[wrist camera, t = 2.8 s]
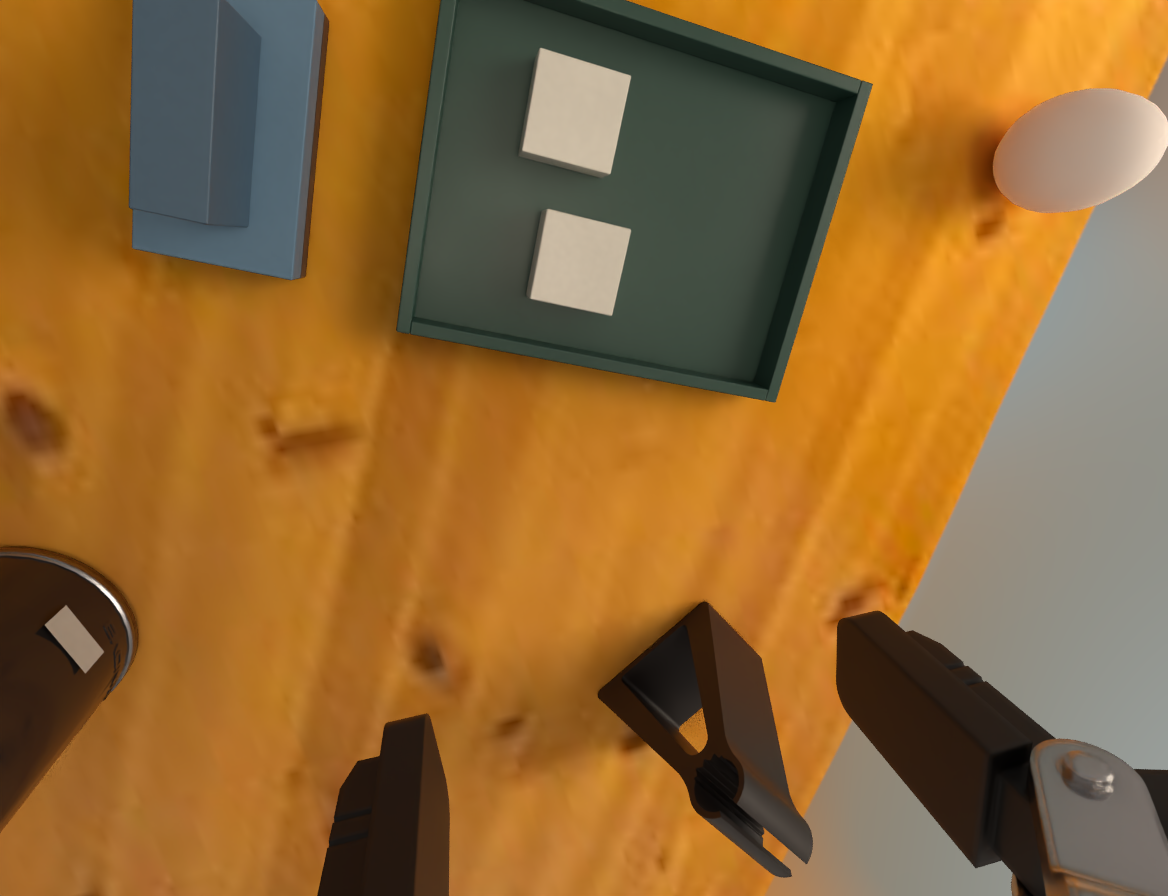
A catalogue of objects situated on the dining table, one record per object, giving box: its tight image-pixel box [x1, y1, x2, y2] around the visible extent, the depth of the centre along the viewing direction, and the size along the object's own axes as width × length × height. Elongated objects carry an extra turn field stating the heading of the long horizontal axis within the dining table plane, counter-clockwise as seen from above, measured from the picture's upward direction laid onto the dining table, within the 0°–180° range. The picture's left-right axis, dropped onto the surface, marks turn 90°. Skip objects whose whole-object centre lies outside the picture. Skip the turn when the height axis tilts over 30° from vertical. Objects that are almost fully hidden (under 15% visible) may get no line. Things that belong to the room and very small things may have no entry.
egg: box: [993, 89, 1168, 213], centre depth 30 cm, size 5×5×8 cm
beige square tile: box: [526, 209, 631, 316], centre depth 30 cm, size 4×4×2 cm
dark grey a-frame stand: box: [598, 602, 813, 877], centre depth 34 cm, size 9×6×12 cm, turn 131°
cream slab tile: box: [518, 48, 631, 178], centre depth 28 cm, size 4×4×2 cm
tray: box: [396, 0, 873, 402], centre depth 29 cm, size 19×15×2 cm
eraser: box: [129, 0, 329, 280], centre depth 23 cm, size 6×10×7 cm, turn 168°
